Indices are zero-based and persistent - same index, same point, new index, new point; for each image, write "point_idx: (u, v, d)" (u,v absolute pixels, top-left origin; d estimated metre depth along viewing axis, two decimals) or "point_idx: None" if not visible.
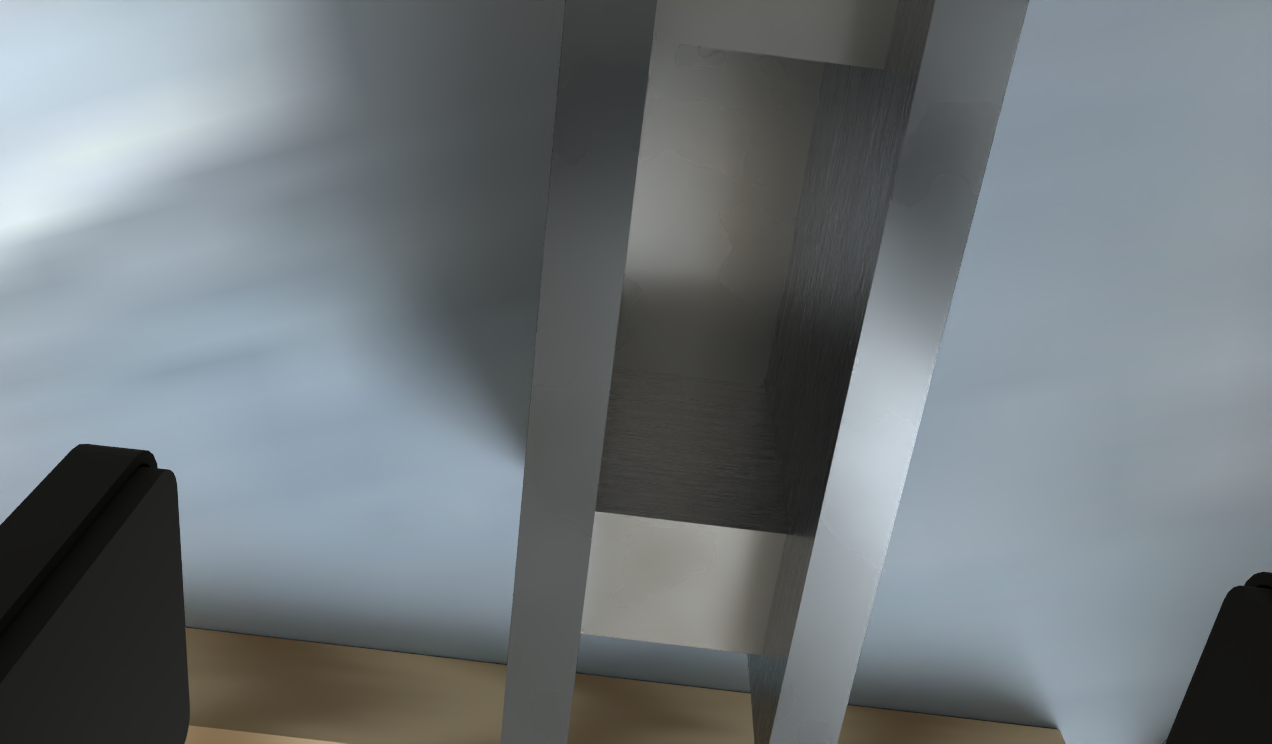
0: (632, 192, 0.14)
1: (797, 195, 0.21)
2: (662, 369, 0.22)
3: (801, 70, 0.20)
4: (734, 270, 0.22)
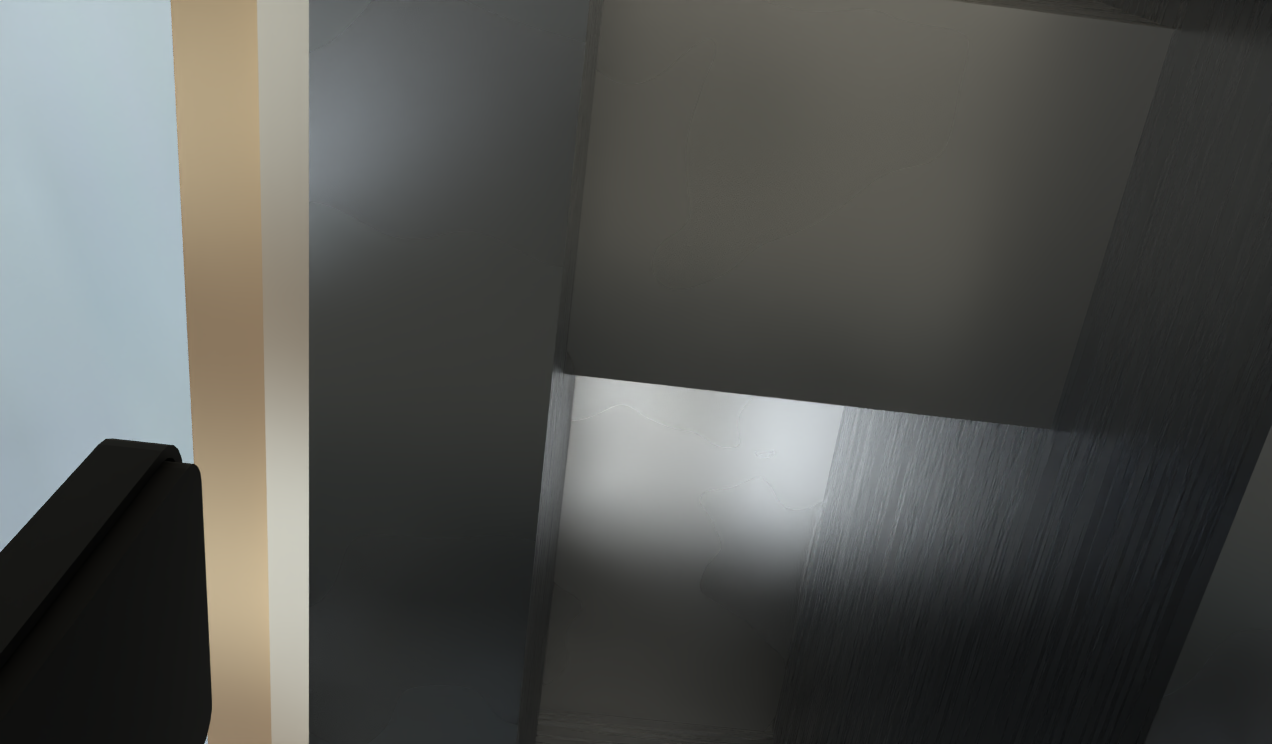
0: None
1: (825, 471, 0.13)
2: (615, 712, 0.15)
3: None
4: (725, 576, 0.14)
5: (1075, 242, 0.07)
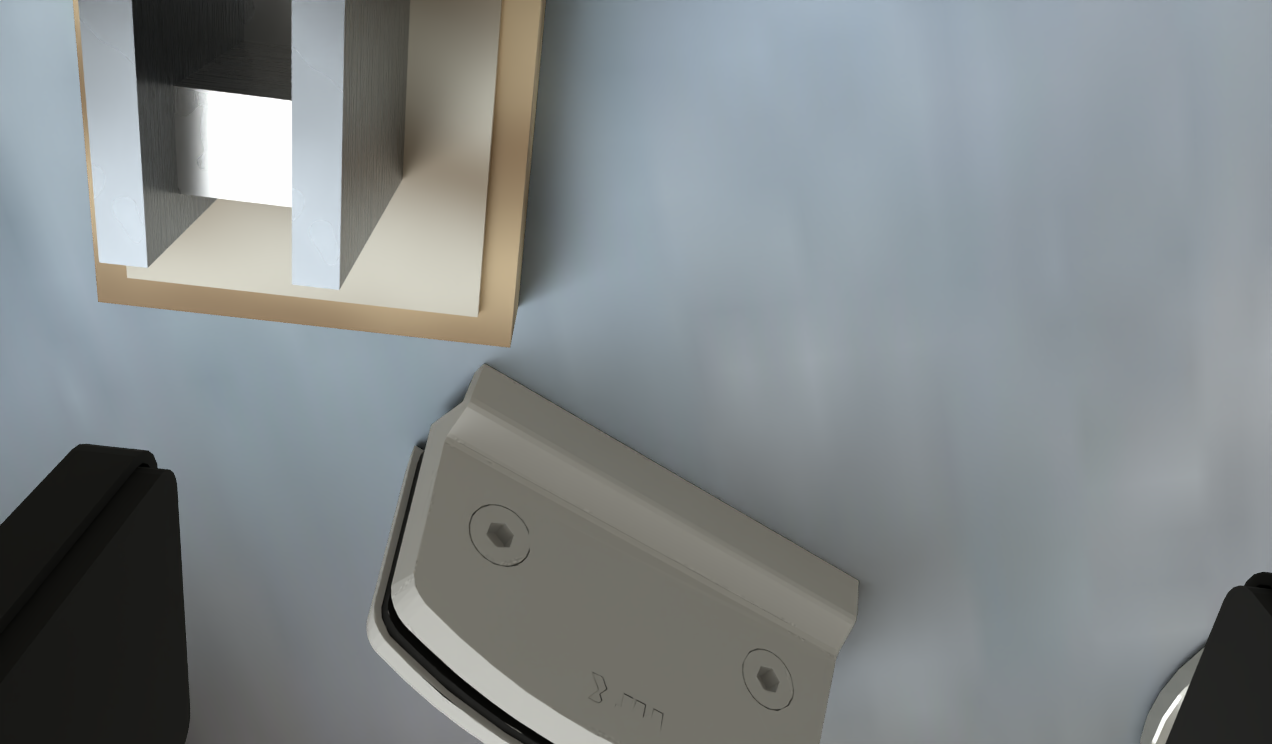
0: None
1: None
2: (281, 41, 0.29)
3: None
4: None
5: None
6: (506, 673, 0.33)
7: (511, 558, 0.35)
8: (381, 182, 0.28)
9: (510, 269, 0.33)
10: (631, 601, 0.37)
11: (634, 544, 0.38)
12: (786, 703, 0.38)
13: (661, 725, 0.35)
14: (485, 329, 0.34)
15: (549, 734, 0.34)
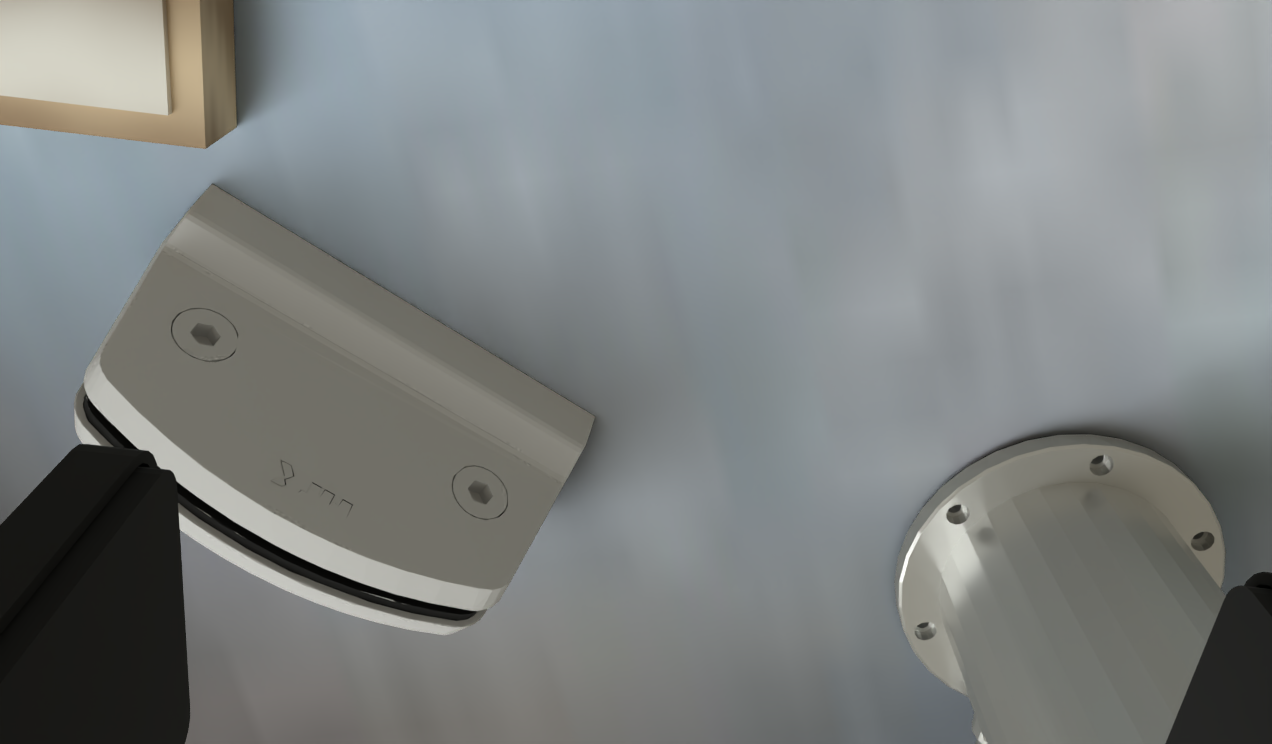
0: None
1: None
2: None
3: None
4: None
5: None
6: (184, 448, 0.35)
7: (213, 355, 0.37)
8: None
9: (196, 67, 0.35)
10: (340, 407, 0.39)
11: (355, 361, 0.40)
12: (496, 515, 0.40)
13: (347, 514, 0.36)
14: (180, 130, 0.36)
15: (230, 513, 0.35)
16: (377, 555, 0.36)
